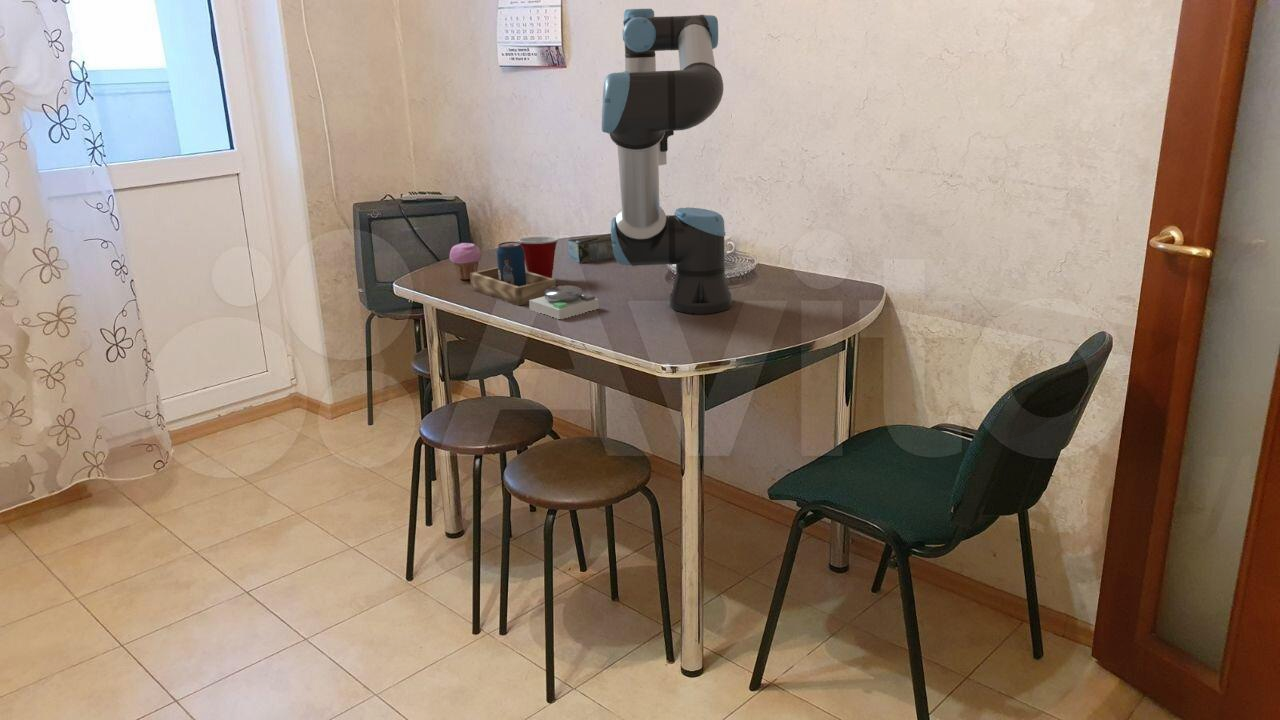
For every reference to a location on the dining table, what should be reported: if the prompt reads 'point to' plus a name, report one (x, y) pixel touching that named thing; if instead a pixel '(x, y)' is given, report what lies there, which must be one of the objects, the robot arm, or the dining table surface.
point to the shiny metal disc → (563, 293)
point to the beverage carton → (591, 248)
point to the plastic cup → (539, 254)
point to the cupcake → (465, 259)
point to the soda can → (511, 263)
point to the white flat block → (564, 306)
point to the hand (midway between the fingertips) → (643, 162)
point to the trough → (510, 286)
